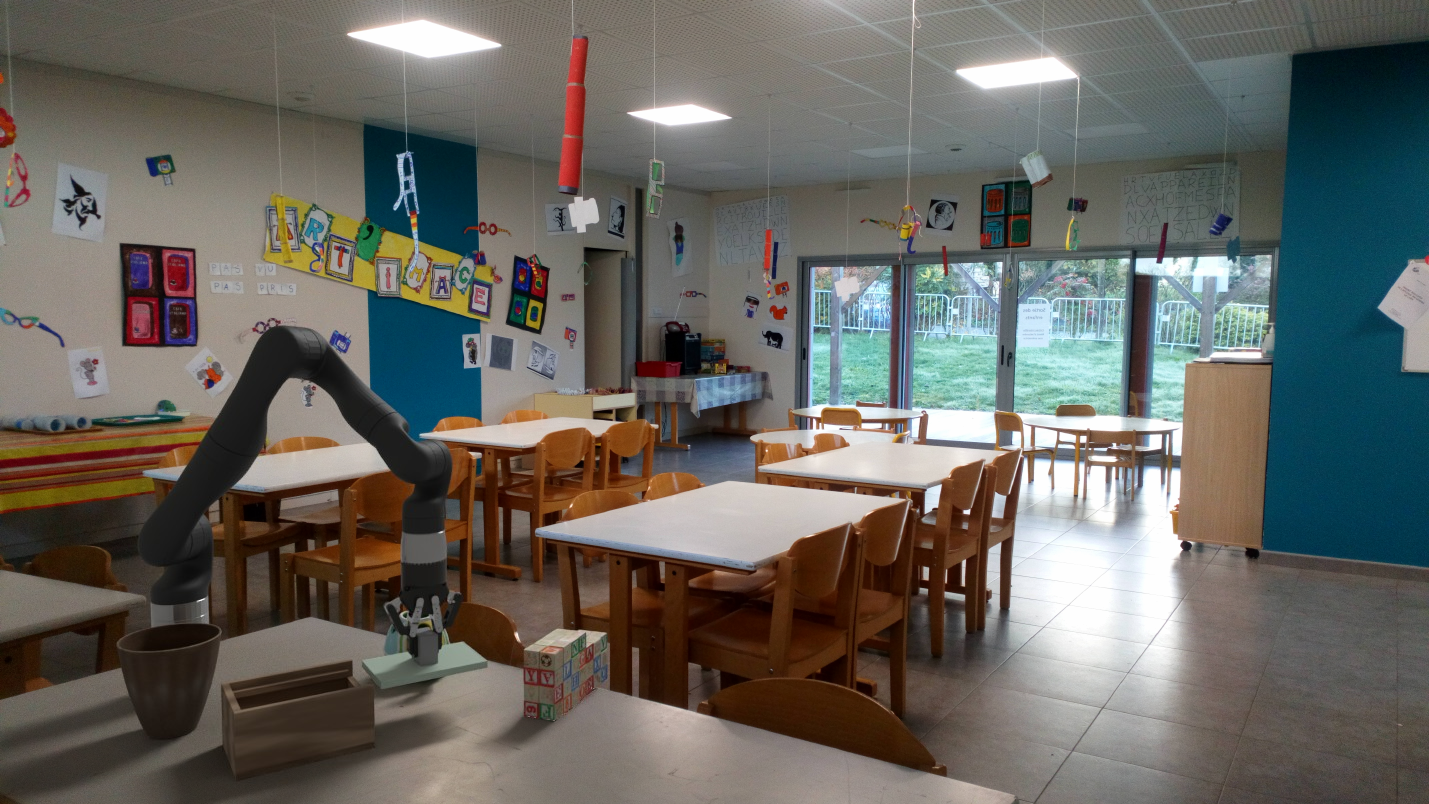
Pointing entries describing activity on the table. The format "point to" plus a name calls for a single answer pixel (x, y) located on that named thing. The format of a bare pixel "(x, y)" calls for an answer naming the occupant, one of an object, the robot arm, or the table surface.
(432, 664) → the lid
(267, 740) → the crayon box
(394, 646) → the turtle holder
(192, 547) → the robot arm
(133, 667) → the plant pot
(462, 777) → the table surface
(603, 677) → the stack of blocks
